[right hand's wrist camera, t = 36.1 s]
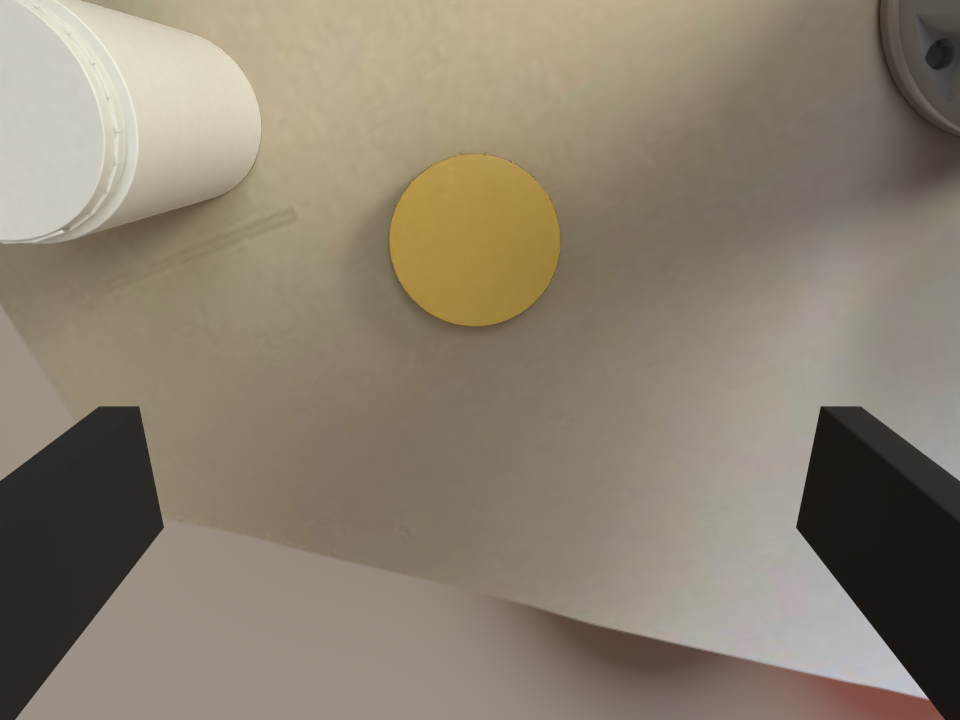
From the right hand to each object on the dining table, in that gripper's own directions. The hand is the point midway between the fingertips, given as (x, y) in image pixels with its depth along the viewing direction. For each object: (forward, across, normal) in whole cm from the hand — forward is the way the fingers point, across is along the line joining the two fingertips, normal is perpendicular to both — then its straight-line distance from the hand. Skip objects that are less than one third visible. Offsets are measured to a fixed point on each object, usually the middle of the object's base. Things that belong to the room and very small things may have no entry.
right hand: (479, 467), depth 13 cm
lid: (+24, 0, 0) cm, 24 cm away
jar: (+26, +16, -6) cm, 31 cm away
